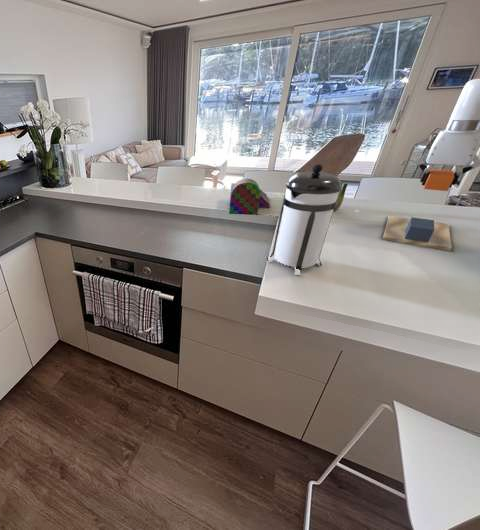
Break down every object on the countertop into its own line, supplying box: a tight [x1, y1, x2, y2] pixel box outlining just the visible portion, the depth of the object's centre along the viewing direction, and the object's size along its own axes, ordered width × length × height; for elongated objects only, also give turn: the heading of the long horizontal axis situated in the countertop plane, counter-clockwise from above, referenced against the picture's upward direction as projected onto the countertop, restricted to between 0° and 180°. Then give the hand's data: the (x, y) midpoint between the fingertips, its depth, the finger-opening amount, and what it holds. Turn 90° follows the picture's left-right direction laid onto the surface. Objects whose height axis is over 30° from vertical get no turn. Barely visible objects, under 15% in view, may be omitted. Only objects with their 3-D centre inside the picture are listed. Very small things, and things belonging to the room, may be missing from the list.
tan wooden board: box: [382, 215, 453, 252], centre depth 99 cm, size 16×22×1 cm
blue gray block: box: [405, 217, 435, 243], centre depth 94 cm, size 6×9×4 cm, turn 138°
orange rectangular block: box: [423, 168, 455, 192], centre depth 95 cm, size 6×9×4 cm, turn 138°
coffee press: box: [266, 163, 343, 271], centre depth 82 cm, size 17×16×30 cm
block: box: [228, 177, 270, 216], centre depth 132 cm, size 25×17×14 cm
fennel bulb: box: [334, 181, 349, 211], centre depth 120 cm, size 6×5×12 cm
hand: (436, 185), depth 96 cm, fingers closed on orange rectangular block, 5 cm apart
